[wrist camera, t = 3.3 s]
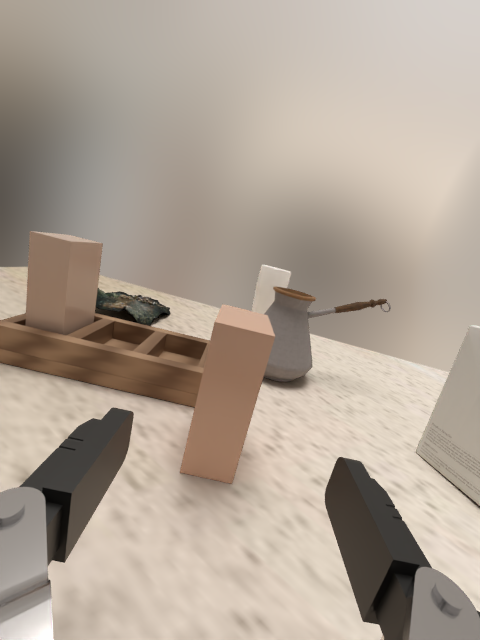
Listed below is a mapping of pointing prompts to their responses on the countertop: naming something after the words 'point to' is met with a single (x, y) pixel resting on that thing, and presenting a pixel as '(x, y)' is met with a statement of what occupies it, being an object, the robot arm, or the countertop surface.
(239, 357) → the clay bar
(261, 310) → the drinking glass
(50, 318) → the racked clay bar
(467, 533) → the countertop surface
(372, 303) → the coffee pot
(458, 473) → the skincare box
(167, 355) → the wooden divided tray
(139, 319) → the decorative rock
